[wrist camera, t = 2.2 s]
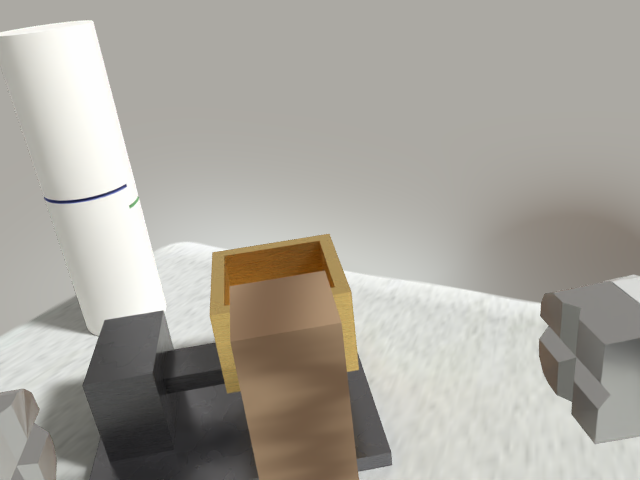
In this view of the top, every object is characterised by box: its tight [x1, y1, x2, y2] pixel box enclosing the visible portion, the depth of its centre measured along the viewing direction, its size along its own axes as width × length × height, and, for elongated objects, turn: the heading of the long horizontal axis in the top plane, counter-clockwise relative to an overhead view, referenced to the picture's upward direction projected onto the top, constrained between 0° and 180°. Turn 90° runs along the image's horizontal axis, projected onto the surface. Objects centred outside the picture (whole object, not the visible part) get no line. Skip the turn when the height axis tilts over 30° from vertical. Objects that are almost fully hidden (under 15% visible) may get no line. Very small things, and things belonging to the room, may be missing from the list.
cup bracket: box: [83, 234, 392, 480], centre depth 39 cm, size 18×14×10 cm
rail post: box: [230, 271, 359, 480], centre depth 27 cm, size 4×4×16 cm
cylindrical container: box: [0, 20, 167, 336], centre depth 49 cm, size 7×7×25 cm
